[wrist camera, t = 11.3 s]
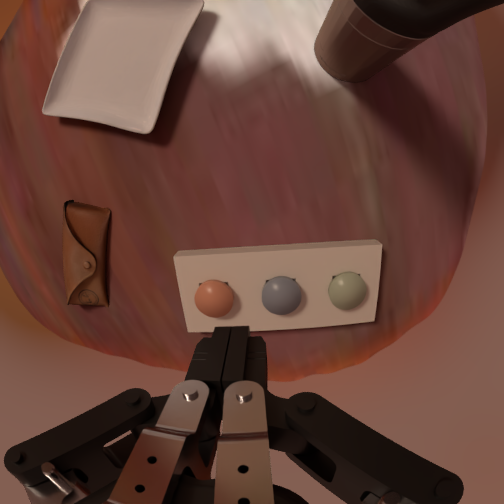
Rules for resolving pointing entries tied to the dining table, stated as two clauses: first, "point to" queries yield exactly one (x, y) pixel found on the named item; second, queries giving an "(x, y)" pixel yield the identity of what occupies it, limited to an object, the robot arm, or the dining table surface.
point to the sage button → (347, 290)
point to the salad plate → (120, 61)
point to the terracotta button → (214, 298)
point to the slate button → (281, 295)
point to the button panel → (272, 265)
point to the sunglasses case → (85, 253)
